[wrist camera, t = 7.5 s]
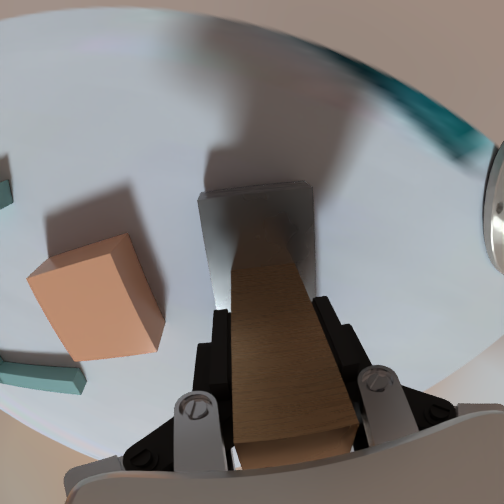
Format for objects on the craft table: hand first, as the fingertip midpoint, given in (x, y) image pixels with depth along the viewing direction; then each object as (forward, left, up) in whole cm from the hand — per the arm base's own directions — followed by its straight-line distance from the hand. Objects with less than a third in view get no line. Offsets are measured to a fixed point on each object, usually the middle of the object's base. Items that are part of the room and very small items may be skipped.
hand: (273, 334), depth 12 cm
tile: (+9, 0, -6) cm, 11 cm away
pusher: (0, 0, -5) cm, 5 cm away
